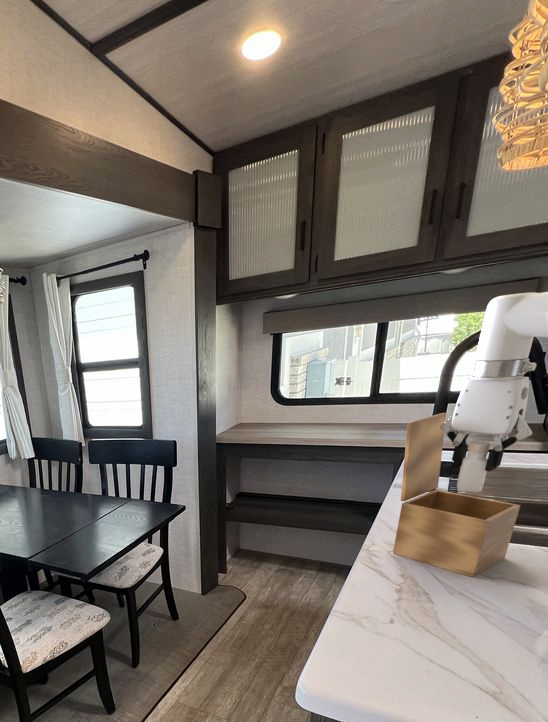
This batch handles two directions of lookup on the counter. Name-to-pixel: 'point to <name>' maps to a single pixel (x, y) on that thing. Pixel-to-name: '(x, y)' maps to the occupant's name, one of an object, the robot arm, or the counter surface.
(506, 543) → the chest
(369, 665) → the counter surface
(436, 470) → the lid
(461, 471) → the pepper shaker
